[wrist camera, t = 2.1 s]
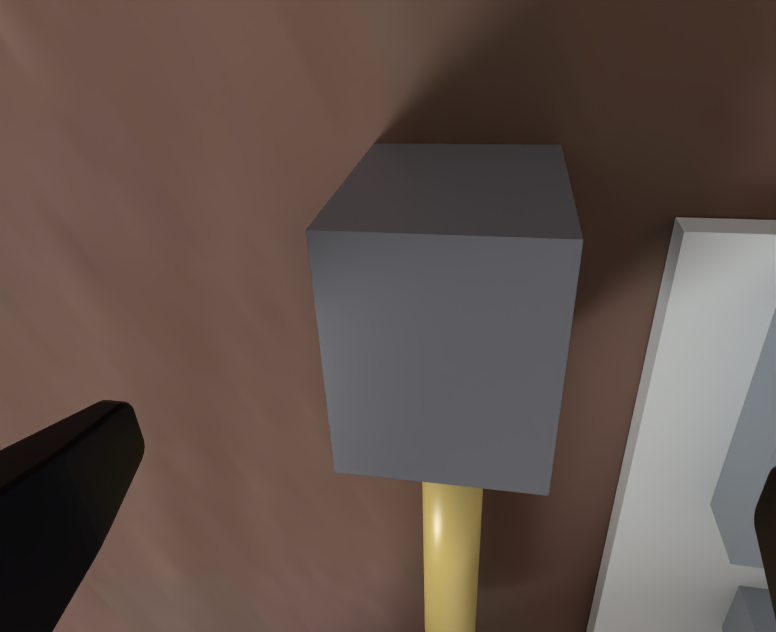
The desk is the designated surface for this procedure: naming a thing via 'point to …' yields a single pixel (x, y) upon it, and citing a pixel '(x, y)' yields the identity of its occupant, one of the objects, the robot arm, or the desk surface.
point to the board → (698, 443)
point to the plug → (448, 334)
